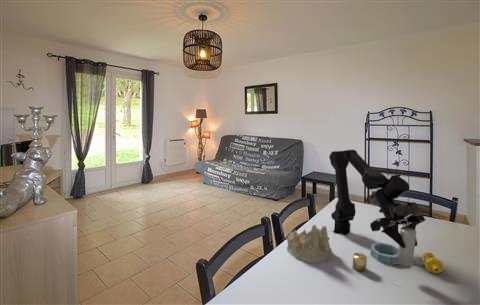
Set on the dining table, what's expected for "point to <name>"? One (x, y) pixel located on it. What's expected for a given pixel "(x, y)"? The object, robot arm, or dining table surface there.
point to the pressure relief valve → (430, 262)
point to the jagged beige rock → (310, 245)
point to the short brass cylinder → (359, 262)
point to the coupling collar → (383, 257)
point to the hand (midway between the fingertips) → (410, 246)
